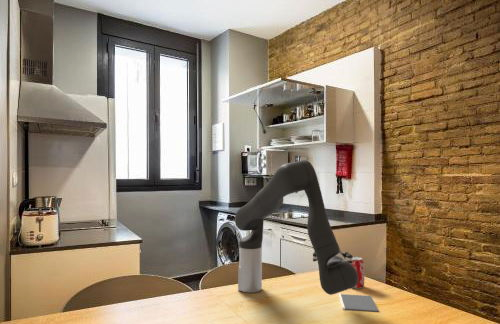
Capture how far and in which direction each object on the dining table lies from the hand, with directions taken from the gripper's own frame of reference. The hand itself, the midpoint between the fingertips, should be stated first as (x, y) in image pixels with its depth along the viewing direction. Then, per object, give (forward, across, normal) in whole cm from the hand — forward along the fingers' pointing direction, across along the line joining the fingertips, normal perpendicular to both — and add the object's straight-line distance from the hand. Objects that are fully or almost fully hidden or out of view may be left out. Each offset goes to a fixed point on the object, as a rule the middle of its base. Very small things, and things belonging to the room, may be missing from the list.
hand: (330, 252), depth 128 cm
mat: (-1, -9, +18) cm, 20 cm away
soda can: (+17, -11, +18) cm, 27 cm away
